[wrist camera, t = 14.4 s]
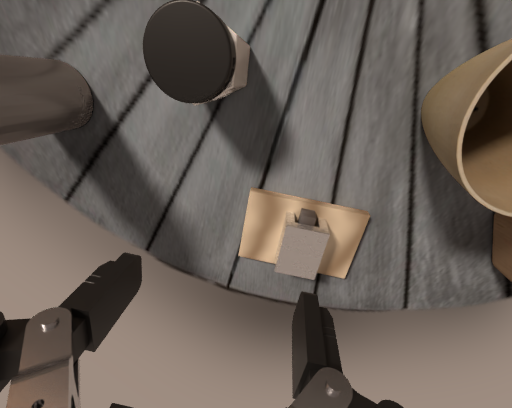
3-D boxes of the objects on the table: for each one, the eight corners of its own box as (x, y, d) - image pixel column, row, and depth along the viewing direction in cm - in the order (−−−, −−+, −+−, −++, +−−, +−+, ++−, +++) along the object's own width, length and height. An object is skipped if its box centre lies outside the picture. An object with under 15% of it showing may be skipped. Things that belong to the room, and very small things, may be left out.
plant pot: (367, 94, 34) (425, 104, 20) (496, 6, 29) (698, -67, 15) (418, 185, 38) (496, 248, 24) (538, 121, 33) (728, 153, 19)
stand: (240, 250, 46) (235, 265, 43) (251, 187, 41) (247, 197, 38) (342, 272, 46) (347, 289, 42) (367, 211, 41) (375, 224, 37)
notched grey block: (275, 253, 44) (274, 271, 40) (286, 211, 40) (286, 225, 36) (311, 261, 44) (314, 280, 40) (325, 219, 40) (329, 234, 36)
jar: (203, 108, 37) (167, 119, 26) (174, 45, 34) (120, 29, 23) (262, 80, 35) (250, 80, 24) (236, 10, 32) (209, -25, 21)
